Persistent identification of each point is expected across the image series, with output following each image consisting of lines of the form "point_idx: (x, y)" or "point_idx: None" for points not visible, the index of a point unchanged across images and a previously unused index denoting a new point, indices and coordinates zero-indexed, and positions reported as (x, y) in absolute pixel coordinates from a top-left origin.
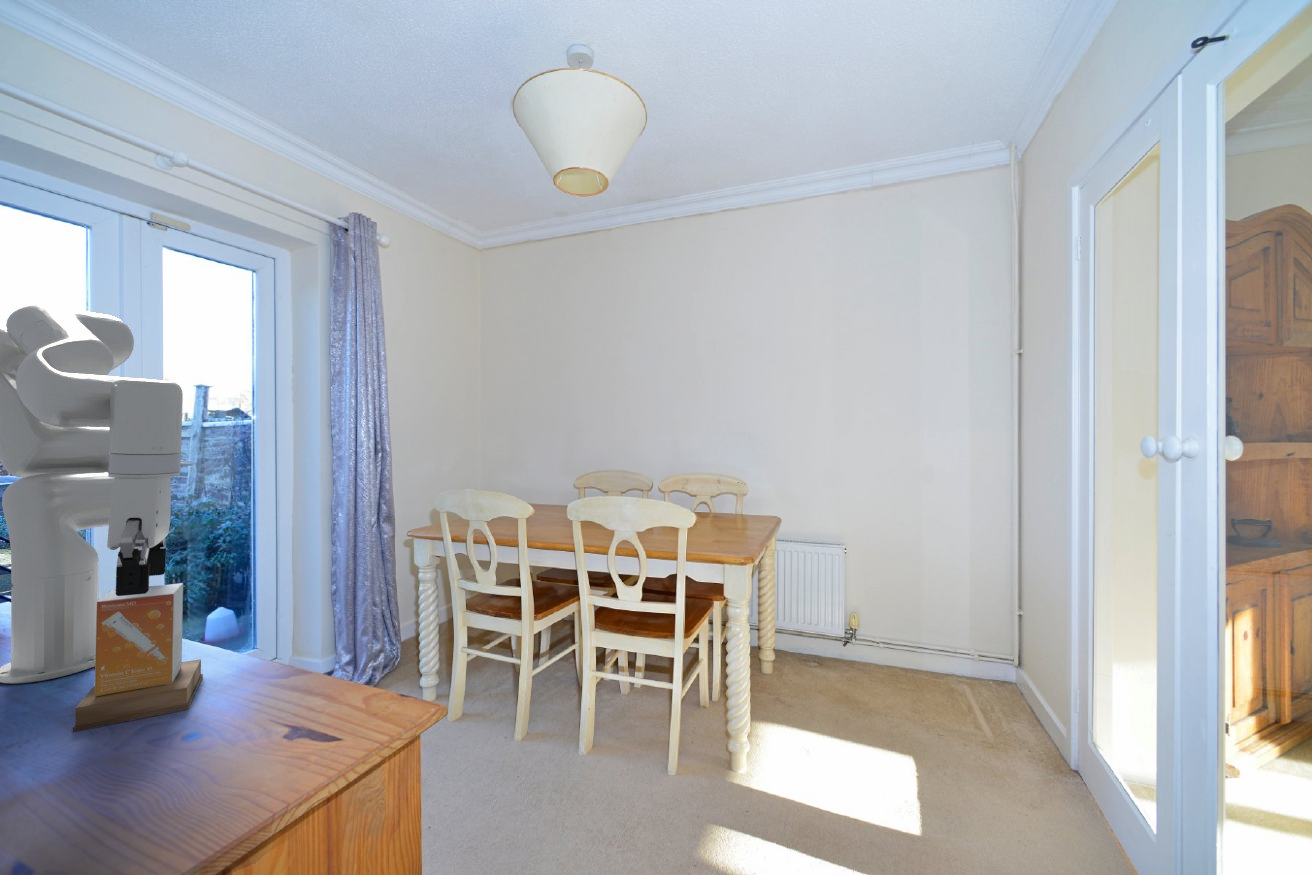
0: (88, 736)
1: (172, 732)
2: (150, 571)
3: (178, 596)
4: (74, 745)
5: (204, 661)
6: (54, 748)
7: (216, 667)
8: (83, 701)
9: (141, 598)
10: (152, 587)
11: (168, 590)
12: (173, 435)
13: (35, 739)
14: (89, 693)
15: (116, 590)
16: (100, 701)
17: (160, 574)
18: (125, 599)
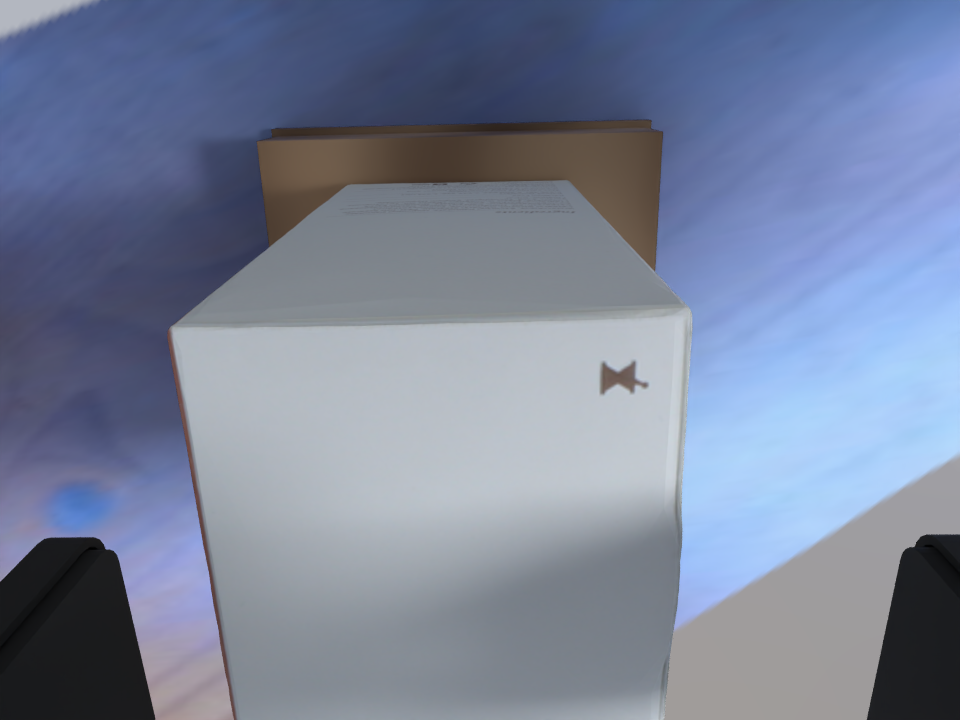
0: (212, 197)
1: (131, 449)
2: (912, 679)
3: None
4: (150, 173)
5: (838, 429)
6: (151, 112)
7: (723, 482)
8: (325, 149)
9: (219, 629)
10: (581, 645)
11: None
12: None
13: (267, 10)
14: (418, 144)
15: (14, 572)
16: (288, 220)
17: (869, 717)
18: (206, 530)
